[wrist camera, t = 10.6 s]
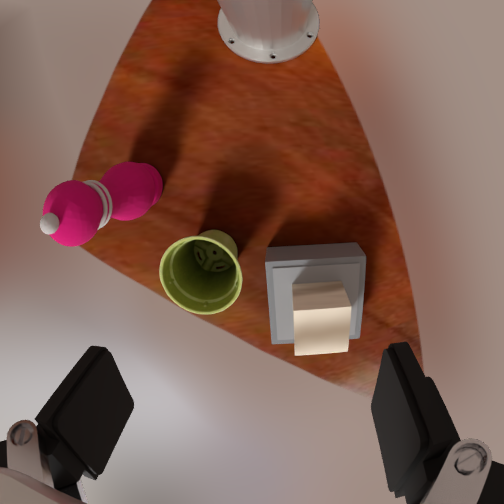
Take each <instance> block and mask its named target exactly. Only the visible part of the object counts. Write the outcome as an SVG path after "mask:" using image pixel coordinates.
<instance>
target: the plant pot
mask: <svg viewBox="0 0 504 504" xmlns="http://www.w3.org/2000/svg"><path fill="white" fill-rule="evenodd" d="M198 251H199V253H200V257H201V259H202V260H200V259H199V257H198V255H197V252H198ZM213 251H216V254H213ZM224 265H225V267H223V268H221V269H216V267H219V266H224ZM160 279H161V283H162V285H163V288H164V290H165V292H166V293H167V295H168V296H169V297H170V298H171V299H172V300H173V301H174V302H175V303H176V304H177V305H179V306H180V307H182V308H183V309H185V310H187V311H190V312H193V313H197V314H214V313H217V312H220V311H223V310H225V309H226V308H228V307H229V306H230V305H232V304H233V303H234V301H235V300H236V299H237V297H238V295H239V293H240V291H241V287H242V272H241V268H240V265H239V262H238V261H237V246H236V244H235V242H234V240H233V239H232V238H231V237H230V236H229V235H227V234H226V233H224V232H222V231H219V230H208V231H205V232H203V233H201V234H200V235H198V236H189V237H185V238H183V239H180V240H178V241H177V242H175V243H174V244H172V245H171V246H170V247H169V248H168V249H167V250H166V252H165V253H164V255H163V257H162V259H161V263H160Z"/></svg>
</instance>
